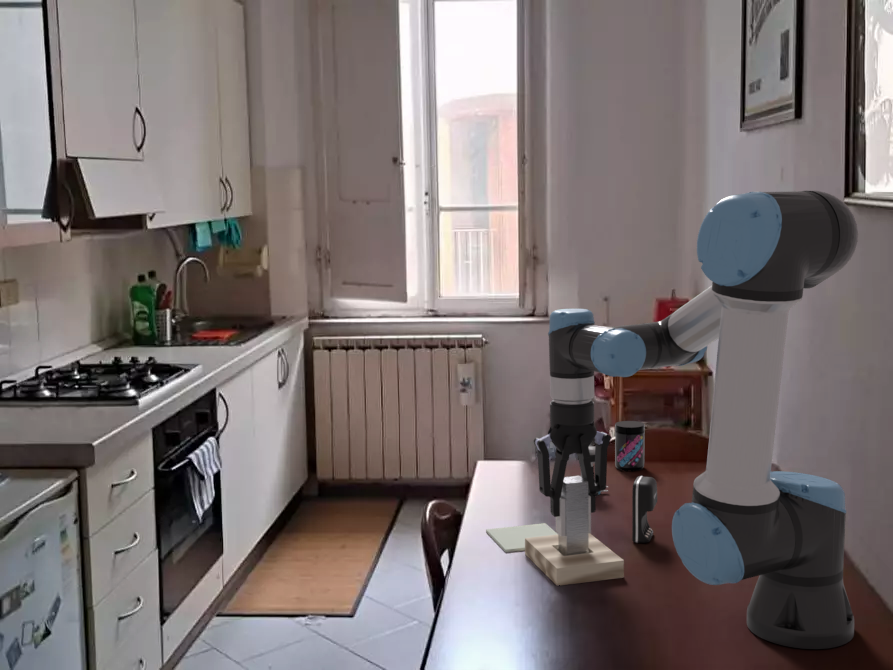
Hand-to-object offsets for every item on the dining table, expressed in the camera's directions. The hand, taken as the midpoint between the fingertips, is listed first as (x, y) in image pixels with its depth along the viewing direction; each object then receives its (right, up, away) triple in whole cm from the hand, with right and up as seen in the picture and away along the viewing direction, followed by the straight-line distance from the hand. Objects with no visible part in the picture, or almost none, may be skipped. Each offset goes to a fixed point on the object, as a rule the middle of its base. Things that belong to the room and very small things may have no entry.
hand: (573, 532), depth 186 cm
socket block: (0, -6, +1) cm, 6 cm away
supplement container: (+20, +3, +63) cm, 66 cm away
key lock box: (+15, -4, +14) cm, 21 cm away
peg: (0, -5, +1) cm, 5 cm away
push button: (+9, 0, +43) cm, 44 cm away
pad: (-7, -4, +16) cm, 18 cm away
